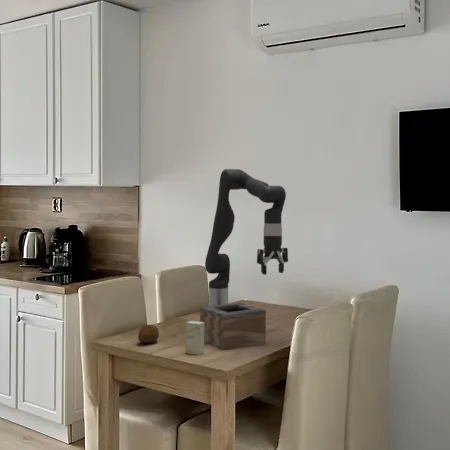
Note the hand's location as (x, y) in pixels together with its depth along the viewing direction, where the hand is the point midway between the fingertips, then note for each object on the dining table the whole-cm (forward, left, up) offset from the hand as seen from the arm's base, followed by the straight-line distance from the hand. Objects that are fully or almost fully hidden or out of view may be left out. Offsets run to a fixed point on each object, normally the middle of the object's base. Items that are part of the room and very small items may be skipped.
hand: (272, 273), depth 258 cm
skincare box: (-3, -35, -29) cm, 46 cm away
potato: (-27, -44, -29) cm, 59 cm away
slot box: (-11, -13, -29) cm, 34 cm away
